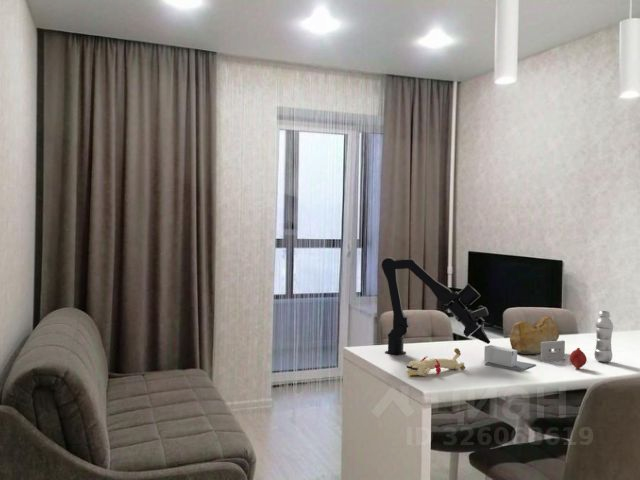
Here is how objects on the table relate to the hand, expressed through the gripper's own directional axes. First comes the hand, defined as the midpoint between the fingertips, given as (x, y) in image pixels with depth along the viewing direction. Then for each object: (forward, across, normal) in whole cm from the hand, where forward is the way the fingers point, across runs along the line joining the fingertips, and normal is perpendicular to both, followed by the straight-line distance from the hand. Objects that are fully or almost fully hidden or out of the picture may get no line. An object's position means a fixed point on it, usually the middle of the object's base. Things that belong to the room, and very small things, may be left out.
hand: (489, 343), depth 222 cm
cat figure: (-6, -28, +16) cm, 33 cm away
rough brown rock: (+15, +29, -4) cm, 33 cm away
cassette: (+21, +14, -11) cm, 28 cm away
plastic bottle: (+34, +21, -24) cm, 47 cm away
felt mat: (+11, -3, -1) cm, 11 cm away
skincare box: (+2, -1, +3) cm, 4 cm away
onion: (+28, +3, -17) cm, 33 cm away
